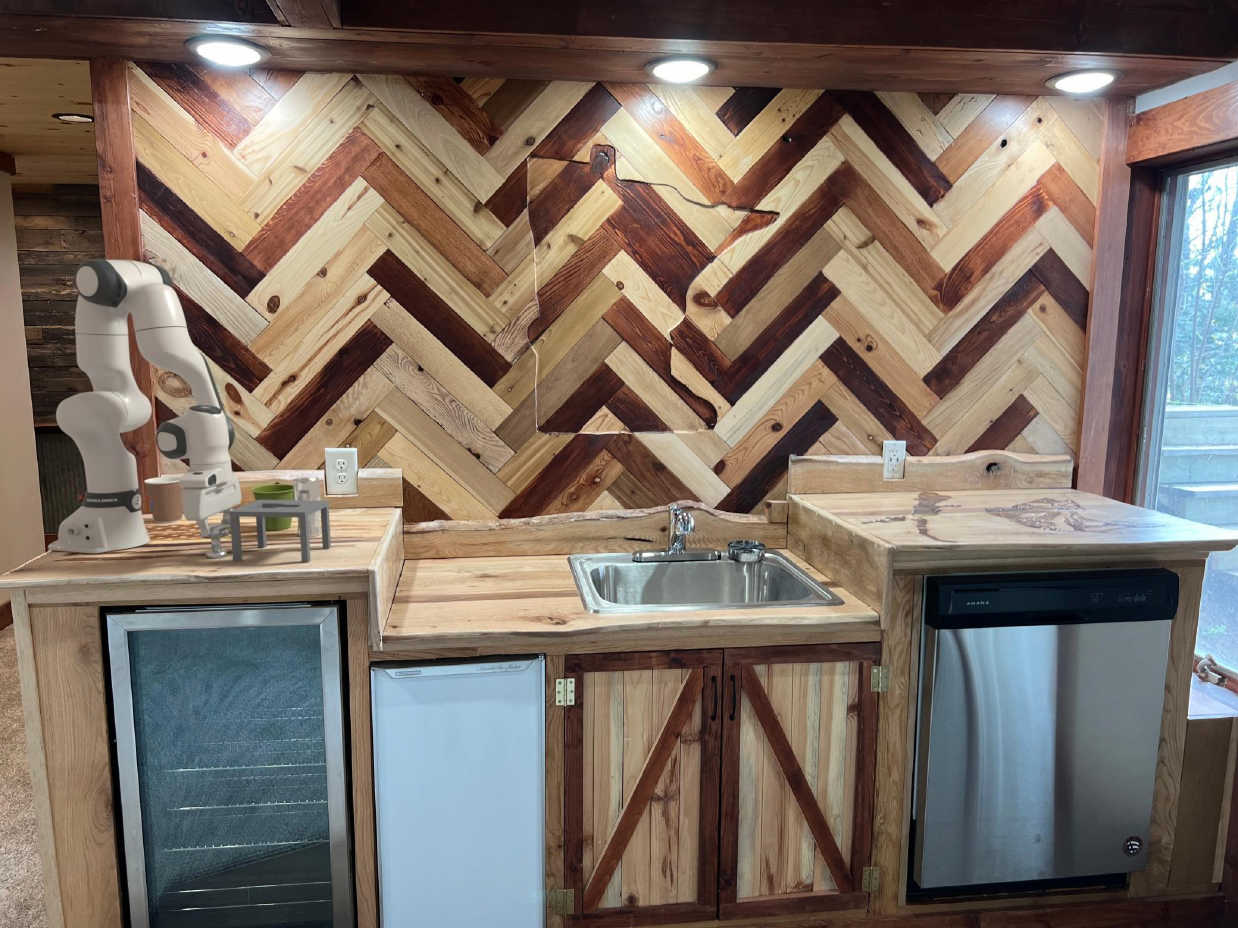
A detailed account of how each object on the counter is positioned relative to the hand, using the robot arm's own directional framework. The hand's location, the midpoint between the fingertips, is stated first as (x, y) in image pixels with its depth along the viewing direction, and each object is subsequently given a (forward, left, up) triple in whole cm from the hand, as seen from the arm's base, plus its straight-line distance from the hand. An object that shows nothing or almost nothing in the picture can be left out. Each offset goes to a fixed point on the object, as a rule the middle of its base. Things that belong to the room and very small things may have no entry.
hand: (216, 531), depth 203 cm
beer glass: (+13, +23, -7) cm, 27 cm away
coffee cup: (-34, +37, -7) cm, 51 cm away
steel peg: (0, 0, -6) cm, 6 cm away
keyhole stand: (+15, +3, -6) cm, 16 cm away
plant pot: (+1, +30, -7) cm, 31 cm away
